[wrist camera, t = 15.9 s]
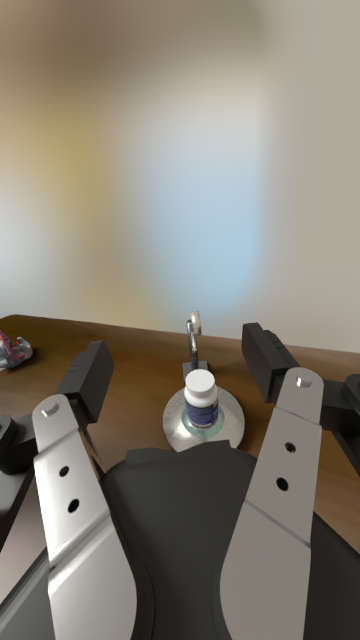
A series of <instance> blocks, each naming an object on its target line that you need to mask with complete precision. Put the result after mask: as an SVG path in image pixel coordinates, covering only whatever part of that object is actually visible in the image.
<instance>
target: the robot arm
mask: <svg viewBox="0 0 360 640" xmlns="http://www.w3.org/2000/svg"><path fill="white" fill-rule="evenodd" d="M242 352H243V355H244V358H245V360H246V362H247V364H248V366H249V368H250V371H251V373H252V375H253V377H254V379H255V381H256V383H257V386H258V388H259V390H260V392H261V394H262V396H263V398H264V401H265V403H274V404H275V408H274V410H273V414H272V417H271V420H270V423H269V426H268V429H267V432H266V435H265V438H264V442H263V445H262V448H261V451H260V454H259V457H258V459H257V458H255V457H254V456H252V455H251V454H249V453H247V452H245V451H242V450H239V449H236V448H231V445H230V441H229V439H228V440H219V441H209V442H203V443H201V444H198V445H196V446H193V447H191V448H188V449H186V450H183V451H181V452H173V451H168V450H163V449H157V448H144V449H135V450H128V451H127V458H126V459H125V460H123V461H121V462H120V463H118V464H116V465H115V466H113V467H112V468H111V469H110V470H108V471H107V470H106V468H105V467H104V465H103V463H102V461H101V459H100V456H99V454H98V452H97V450H96V447H95V445H94V443H93V441H92V438H91V436H90V434H89V432H88V430H87V429H86V428H87V425H88V424H90V423H97V420H98V417H99V414H100V411H101V408H102V405H103V401H104V398H105V395H106V392H107V389H108V386H109V383H110V379H111V376H112V373H113V369H114V363H113V359H112V357H111V354H110V351H109V349H108V346H107V344H106V342H105V341H97V342H91V343H89V345H88V347H87V349H86V351H85V352H81V353H80V354H79V355H78V356H77V357H76V358H75V359H74V361H73V363H72V364H71V367H70V368H69V370H68V371H67V374H66V375H65V377H64V378H63V380H62V382H61V383H60V385H59V387H58V389H57V390H56V392H55V394H54V395H53V396H50V397H48V398H47V399H45V400H43V401H42V402H41V403H40V404H39V405H38V406H37V407H36V408H35V410H34V412H33V413H31V414H28V415H26V416H23V417H20V418H18V419H15V420H13V419H12V418H11V417H10V416H9V415H6V414H2V415H0V553H1V550H2V548H3V546H4V543H5V541H6V539H7V536H8V534H9V532H10V530H11V527H12V525H13V523H14V520H15V518H16V516H17V513H18V511H19V509H20V507H21V504H22V502H23V500H24V497H25V495H26V493H27V490H28V488H29V486H30V483H31V481H32V479H33V477H34V474H36V481H37V487H38V493H39V499H40V505H41V511H42V517H43V523H44V529H45V535H46V541H47V546H46V547H45V549H44V550H43V551H42V552H41V554H40V555H39V556H38V557H37V559H36V560H35V561H34V562H33V564H32V565H31V566H30V567H29V569H28V570H27V571H26V573H25V574H24V575H23V576H22V578H21V579H20V580H19V581H18V583H17V584H16V585H15V586H14V588H13V589H12V590H11V591H10V593H9V594H8V595H7V597H6V598H5V599H4V600H3V602H2V603H1V604H0V640H360V554H359V553H358V552H357V551H356V550H355V549H353V548H352V547H351V546H350V545H349V544H348V543H347V542H346V541H345V540H344V539H343V538H342V537H341V536H340V535H339V534H338V533H336V532H335V531H334V530H333V529H332V528H331V527H330V526H329V525H328V524H327V523H326V522H325V521H324V520H323V519H322V518H321V517H320V516H318V515H317V514H316V513H315V512H314V511H313V507H314V498H315V489H316V480H317V471H318V461H319V452H320V443H321V434H322V429H323V430H328V431H331V432H332V434H333V435H334V437H335V438H336V440H337V442H338V443H339V445H340V446H341V448H342V450H343V451H344V453H345V454H346V456H347V458H348V459H349V461H350V462H351V464H352V466H353V467H354V469H355V470H356V472H357V474H358V475H359V477H360V374H353V375H349V376H348V377H347V378H346V380H345V382H337V381H330V380H323V379H321V378H320V376H319V375H317V374H316V373H315V372H313V371H311V370H309V369H305V368H301V367H300V366H299V364H298V363H297V362H296V360H295V359H294V358H293V356H292V355H291V354H290V353H289V351H288V350H287V349H286V348H285V346H284V345H283V343H281V341H280V340H279V338H278V337H277V336H276V335H275V334H274V333H272V332H271V331H269V330H263V329H262V328H261V326H260V325H259V324H258V323H257V322H256V323H248V324H243V332H242Z"/></svg>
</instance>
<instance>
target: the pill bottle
mask: <svg viewBox="0 0 360 640" xmlns="http://www.w3.org/2000/svg"><path fill="white" fill-rule="evenodd" d="M184 395H185V402H186V410H187V417H188V420H189V422H190V424H191V425H192V426H193V427H194V428H196V429H199V430H208V429H211V428H212V427H213V426H215V424H216V423H217V421H218V389H217V387H216V385H215V379H214V376H213V375H212V374H211V373H210V372H209V371H207V370H202V369H198V370H194V371H192V372H190V373H189V374H188V375H187V377H186V387H185V390H184Z"/></svg>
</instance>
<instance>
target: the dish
mask: <svg viewBox="0 0 360 640" xmlns="http://www.w3.org/2000/svg"><path fill="white" fill-rule="evenodd" d="M216 387H217V386H216ZM217 389H218V421H217V423H216V424H215V426H213V427H212V428H211V429H208V430H199V429H196V428H194V427H193V426H192V425H191V424H190V422H189V420H188V417H187V410H186V402H185V395H184V390H185V388H183V389H181V390H180V391H178V392H177V393H176V394H175V395H174V396H173V397H172V398H171V399H170V401H169V402H168V404H167V406H166V408H165V411H164V415H163V427H164V432H165V435H166V438H167V440H168V443H169V444H170V446H171V447H172V448H173V450H174V451H175V452H181V451H183V450H186V449H188V448H191V447H193V446H196V445H198V444H201V443H203V442H209V441H219V440H228V439H229V441H230V445H231V448H236V449H237V448H238V446H239V445H240V443H241V441H242V438H243V434H244V428H245V420H244V415H243V411H242V409H241V406H240V405H239V403H238V402H237V400H236V399H235V398H234V397H233V396H232V395H231V394H230V393H229V392H227V391H226V390H224V389H222V388H220V387H217Z"/></svg>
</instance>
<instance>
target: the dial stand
mask: <svg viewBox="0 0 360 640" xmlns="http://www.w3.org/2000/svg"><path fill="white" fill-rule="evenodd" d="M187 332H188V341H189V350H190V359H191V362H189V363H183V375H184V385H185V384H186V377H187V375H188V374H189V373H190V372H192V371H194V370H198V369H202V370H207V371H208V367H207V363H206V361H198V349H197V338H196V336H198V335H201V322H200V316H199V312H198V311H195V312H191V320H188V321H187Z"/></svg>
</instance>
